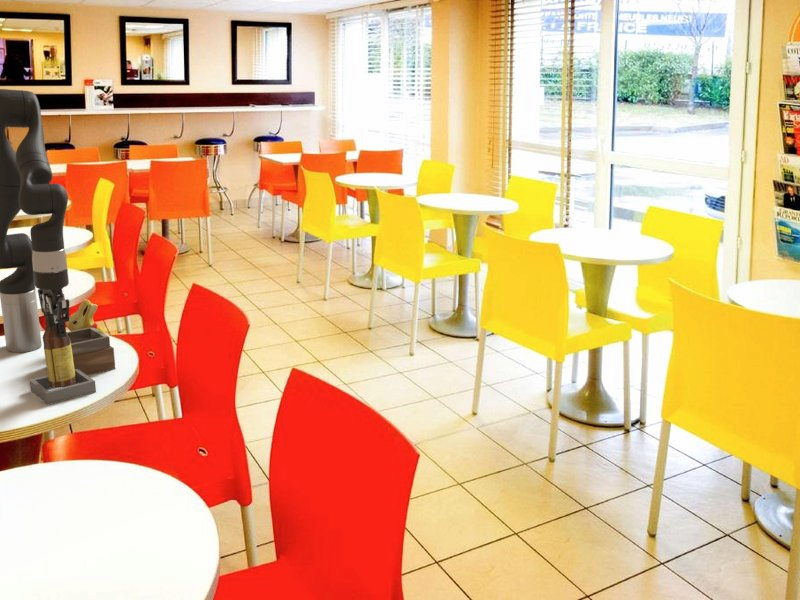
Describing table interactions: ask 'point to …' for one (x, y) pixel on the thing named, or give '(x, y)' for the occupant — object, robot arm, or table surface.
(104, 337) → the walnut dock
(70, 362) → the sauce bottle
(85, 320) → the chocolate bunny
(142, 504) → the table surface
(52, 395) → the low holder
